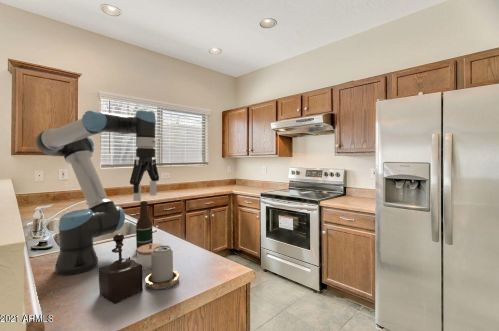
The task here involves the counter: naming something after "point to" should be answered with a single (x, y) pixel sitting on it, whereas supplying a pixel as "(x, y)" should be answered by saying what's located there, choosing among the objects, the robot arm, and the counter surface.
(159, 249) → the can
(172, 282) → the coaster
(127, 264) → the dark brown coffee grinder
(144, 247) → the lidded jar
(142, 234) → the beer bottle
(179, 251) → the counter surface
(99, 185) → the robot arm
